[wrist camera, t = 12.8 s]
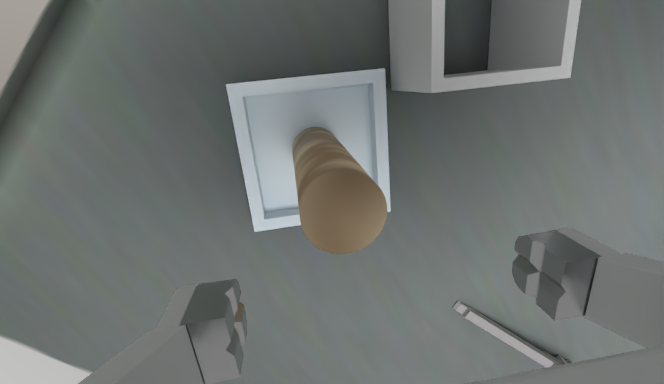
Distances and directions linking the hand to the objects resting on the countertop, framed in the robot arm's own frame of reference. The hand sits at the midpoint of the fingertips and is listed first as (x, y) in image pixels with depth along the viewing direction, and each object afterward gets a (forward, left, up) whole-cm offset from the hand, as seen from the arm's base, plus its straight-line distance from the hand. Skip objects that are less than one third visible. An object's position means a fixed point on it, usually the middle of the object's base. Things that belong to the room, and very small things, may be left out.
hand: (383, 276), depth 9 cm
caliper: (-22, +26, -21) cm, 40 cm away
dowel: (0, 0, -20) cm, 20 cm away
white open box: (-12, -9, -20) cm, 25 cm away
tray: (0, 0, -20) cm, 20 cm away
